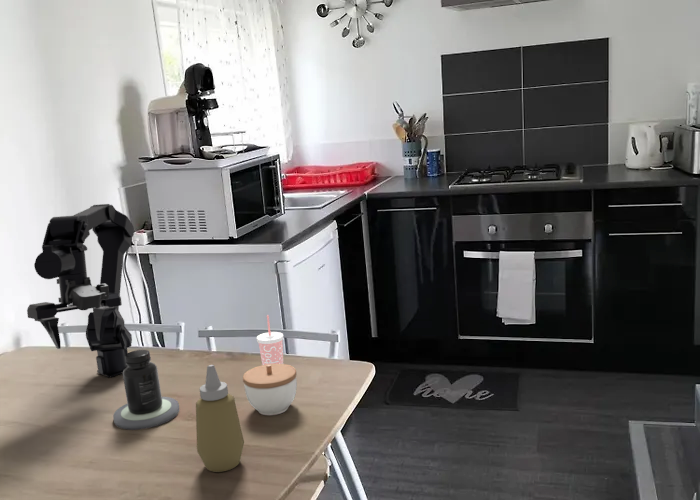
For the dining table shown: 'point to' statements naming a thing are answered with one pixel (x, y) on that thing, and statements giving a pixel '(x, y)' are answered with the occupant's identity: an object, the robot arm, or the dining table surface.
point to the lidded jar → (270, 387)
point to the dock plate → (146, 416)
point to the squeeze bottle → (218, 425)
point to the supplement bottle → (141, 383)
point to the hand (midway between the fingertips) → (79, 344)
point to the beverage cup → (271, 346)
